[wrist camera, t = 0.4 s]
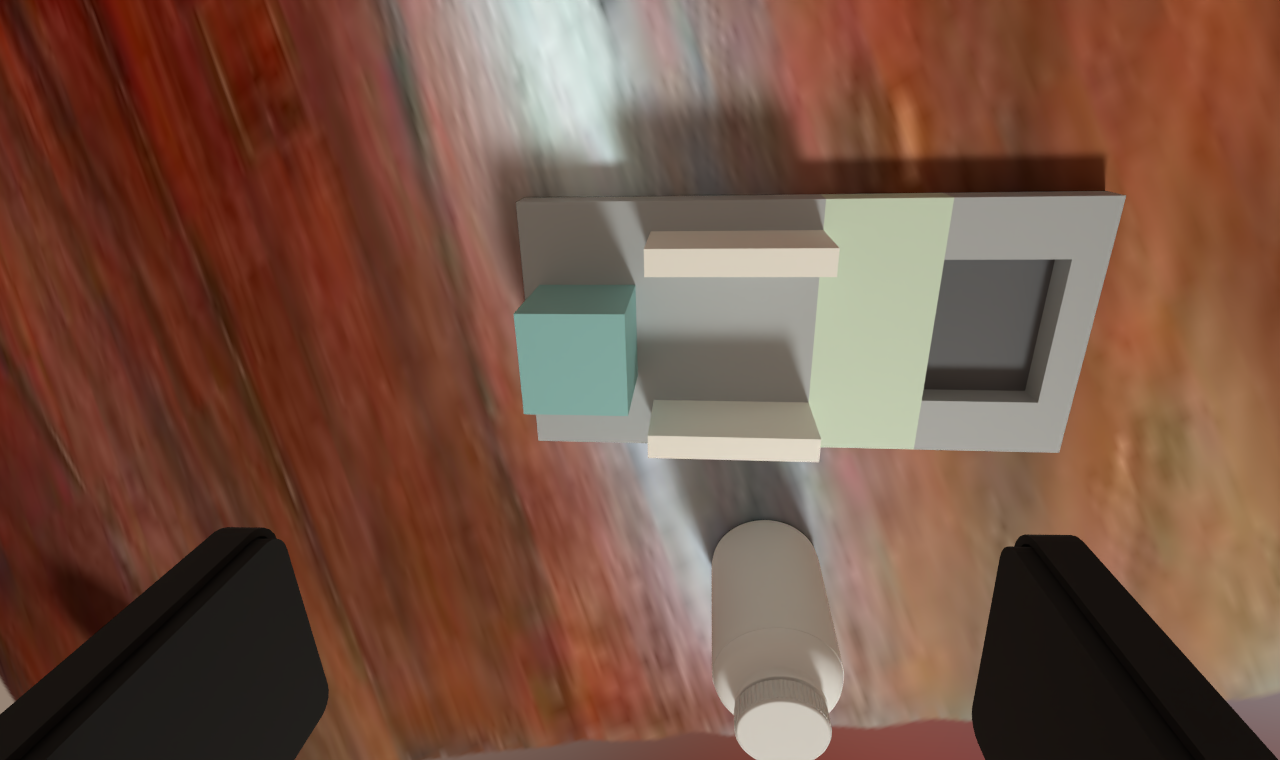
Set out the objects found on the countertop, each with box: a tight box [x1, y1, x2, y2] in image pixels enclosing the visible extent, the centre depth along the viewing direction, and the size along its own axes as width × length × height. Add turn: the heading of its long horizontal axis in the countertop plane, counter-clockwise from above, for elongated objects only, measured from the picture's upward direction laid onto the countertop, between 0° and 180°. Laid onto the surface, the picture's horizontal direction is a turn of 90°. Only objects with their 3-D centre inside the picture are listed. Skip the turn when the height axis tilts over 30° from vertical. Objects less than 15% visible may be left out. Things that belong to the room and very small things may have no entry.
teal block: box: [514, 285, 638, 416], centre depth 39 cm, size 6×6×6 cm
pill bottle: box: [712, 520, 844, 760], centre depth 43 cm, size 8×8×15 cm
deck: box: [516, 191, 1126, 462], centre depth 39 cm, size 16×34×7 cm, turn 91°
